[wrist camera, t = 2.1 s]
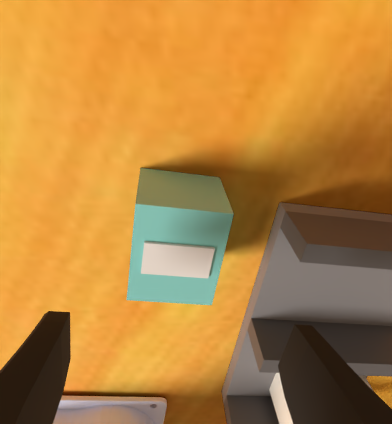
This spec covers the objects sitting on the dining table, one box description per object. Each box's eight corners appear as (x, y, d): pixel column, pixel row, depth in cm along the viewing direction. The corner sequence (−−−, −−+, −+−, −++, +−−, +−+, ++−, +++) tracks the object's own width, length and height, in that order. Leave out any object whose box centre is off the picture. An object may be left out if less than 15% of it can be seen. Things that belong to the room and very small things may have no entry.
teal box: (132, 250, 19) (126, 302, 16) (140, 166, 17) (135, 205, 13) (202, 255, 20) (212, 307, 16) (219, 176, 18) (234, 215, 14)
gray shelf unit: (221, 391, 26) (230, 448, 22) (279, 202, 19) (306, 243, 15) (343, 393, 27) (370, 447, 24) (442, 220, 20) (501, 261, 17)
